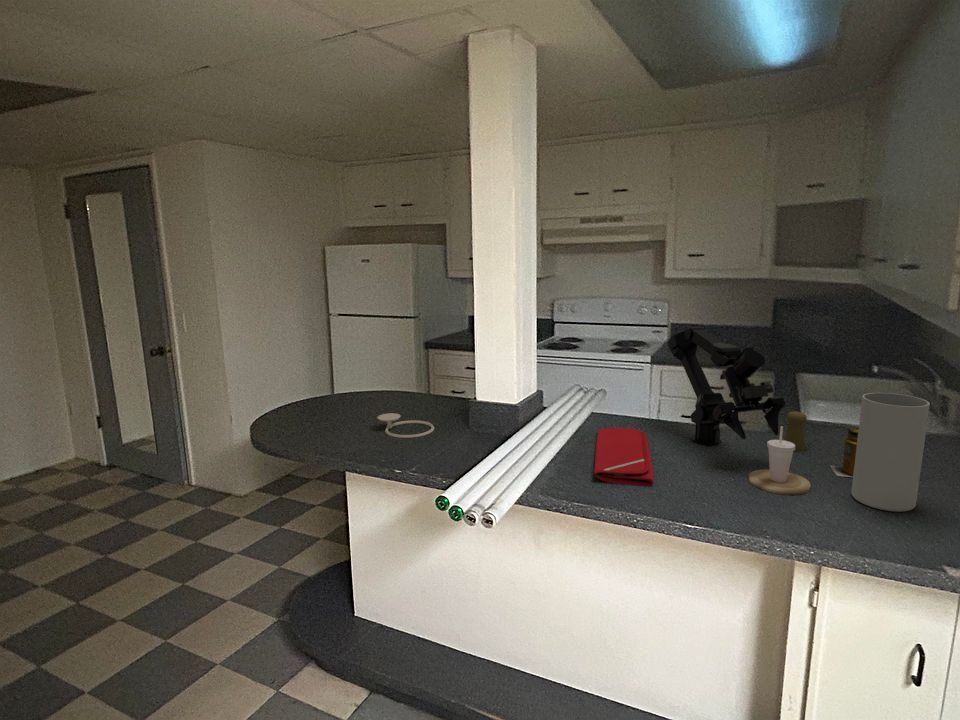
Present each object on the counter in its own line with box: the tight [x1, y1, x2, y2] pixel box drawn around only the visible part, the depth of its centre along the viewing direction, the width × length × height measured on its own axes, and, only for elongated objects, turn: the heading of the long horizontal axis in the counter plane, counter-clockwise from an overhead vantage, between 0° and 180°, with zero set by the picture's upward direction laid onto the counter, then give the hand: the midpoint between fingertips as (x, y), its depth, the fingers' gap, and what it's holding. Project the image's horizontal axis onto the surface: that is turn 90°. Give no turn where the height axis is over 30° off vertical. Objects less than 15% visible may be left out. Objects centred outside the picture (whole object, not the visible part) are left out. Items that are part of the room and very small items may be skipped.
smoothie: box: [766, 425, 795, 482], centre depth 144 cm, size 6×6×14 cm
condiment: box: [829, 427, 859, 478], centre depth 150 cm, size 7×8×12 cm
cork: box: [783, 410, 808, 452], centre depth 170 cm, size 6×6×11 cm
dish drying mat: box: [593, 427, 654, 487], centre depth 166 cm, size 16×41×4 cm, turn 167°
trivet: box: [748, 468, 811, 496], centre depth 145 cm, size 14×14×1 cm
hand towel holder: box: [376, 412, 435, 439], centre depth 195 cm, size 17×4×20 cm
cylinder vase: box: [851, 392, 931, 513], centre depth 132 cm, size 12×12×25 cm
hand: (760, 436), depth 152 cm, fingers open, 9 cm apart
